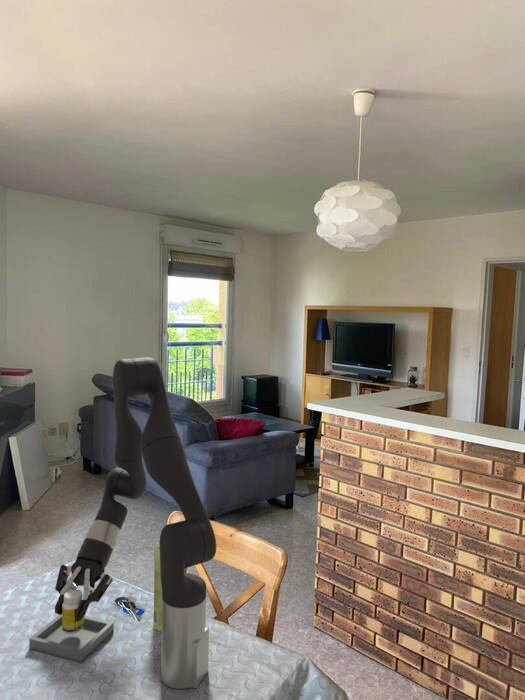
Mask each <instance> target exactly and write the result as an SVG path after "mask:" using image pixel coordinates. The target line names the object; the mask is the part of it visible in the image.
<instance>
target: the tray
mask: <svg viewBox="0 0 525 700" xmlns="http://www.w3.org/2000/svg"><path fill="white" fill-rule="evenodd" d="M114 624H115V623H114V622H113V621H108V620H104V619H101V618H95V617H93V616H88V615H85V616H84V625H83V628H82V630H81V631H79V632H77V633H74V634H66V633H64V632H63V631H62V614H61V615H59V614H58V615H57V616H56V617H55V618H54V619H52V620H51V621H50V622H49V623H48V624H45V626H43V627H42V628H41V629H39V631H37V632H36V633H35V634H34V635H32V636H31V637H30V638H29V639H28V640H29V646H28V647H29V650H30V651H33V652H38V653H42V654H45V655H48V656H52V657H56V658H60V659H63V660H67V661H71V662H74V663H77V664H83V663H84V662H85V661H86V660H88V659H89V658H90V657H91V656H92V655H93V654H94V652H95V651H96V650H98V648H100V647H101V646H102V644H104V643H105V642H106V641H107V640H108V638H110V637H111V636H112V635H113V634H114V631H115V627H114Z"/></svg>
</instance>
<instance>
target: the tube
mask: <svg viewBox="0 0 525 700" xmlns="http://www.w3.org/2000/svg"><path fill="white" fill-rule="evenodd" d="M153 565H154V566H153V568H154V569H153V571H154V572H153V573H154V574H153V578H154V579H153V624H152V625H153V628H154V629H155V630H157V631H158V632H162V586H161V575H160V546H159V545H153Z"/></svg>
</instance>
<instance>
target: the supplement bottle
mask: <svg viewBox="0 0 525 700" xmlns="http://www.w3.org/2000/svg"><path fill="white" fill-rule="evenodd" d="M81 600H83V591H82V590H80V589H76V590H70V591H67V592H66V593H65V594H64V602H63V604H62V631H63V632H64V633H66V634H74V633H77V632H79V631H81V630H82V628H83V625H84V617H82V619H81V620H78V619H76V618H75V617H74V616H75V613H76V611H77V609H78V606H79V604H80V602H81Z"/></svg>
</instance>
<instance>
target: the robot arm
mask: <svg viewBox="0 0 525 700" xmlns="http://www.w3.org/2000/svg"><path fill="white" fill-rule="evenodd" d="M112 370H113V373H112V391H113V393H112V395H113V404H114V405H113V408H114V420H115V421H114V422H115V445H114V446H115V447H114V459H113V461H114V464H115V465H116V466H117V467H114V468H112V469H111V470H110V471H109V472H108V473H107V475H106V478H105V482H104V483H105V484H104V490H103V497H102V499H101V500H102V501H101V504H100V507H99V509H98V512H97V514H96V515H95V518H94V521H93V522H92V523H91V526H90V527H89V528H88V531H87V533H86V535H85V538H84V540H83V542H82V544H81V546H80V548H79V551H78V553H77V556H76V559H75V561H74V563H73V564H72V565H65V564H61V565H60V567H59V571H58V575H57V579H56V583H55V587H54V589H55V590H56V592H58V593H59V597H58V599H57V601H56V603H55V606H54V613H55V614H57V615H58V616H59V615H61V614H62V604H63V602H64V594H65V593H66V592H67V591H70V590H78V588H79V587H81V586H82V587H83V593H82V599H83V600H81V602H80V604H79V606H78V609H77V611H76V613H75V616H74V617H75V618H76V619H78V620H81V619H82V617H84V616H86V613H87V611H88V609H89V607H90V604H91V603H94V602H96V603H99V602H100V600H101V599H102V598H103V596H104V595H105V593H106V591H107V589H109V587H110V585H111V584H112V582H113V581H114V580H113V577H112V576H110V575H109V574H108V573H105V569H106V567H107V566H108V563H109V561H110V559H111V557H112V553H113V552H114V550H115V547H116V544H117V542H118V539H119V535H120V532H121V529H122V527H123V525H124V523H125V521H126V518H127V515H128V507H126V506H125V505H124V504H122V503H121V502H119V501H117V500H116V499H115V497H116V496H118V497H122V498H125V499H129V500H130V499H131V500H137V499H139V498H141V497H142V496H143V495H144V494H145V491H146V490H147V489H146V487H147V478H146V477H147V475H146V472H145V469H146V471H147V473H148V475H149V477H150V478H151V479H152V480H153V481H154V482H155V483H156V484H157V485H158V486H159V487H160V488H162V490H164V492H166V493H167V494H168V495H169V496H170V497H171V498H172V499H173V500H174V502H175V503H176V504H177V505H178V507H179V509H180V511H181V513H182V515H183V518H184V520H181V521H176V522H173V523H168V524H166V525H164V526H163V528H162V529H161V532H160V534H159V535H160V536H159V547H160V575H161V586H162V631H161V640H160V641H161V643H160V647H161V649H160V678H161V681H162V683H163V684H164V685H166V686H167V687H169V688H171V689H177V690H178V689H179V690H182V689H183V690H185V689H190V688H193V689H197V688H198V687H199V685H200V683H201V682H202V680H203V679H204V678H205V676H206V674H207V673H208V671H209V651H210V650H209V649H210V645H209V643H210V642H209V641H210V629H209V627H206V626H207V625H206V622H207V621H206V620H207V619H206V618H207V615H206V614H207V583H206V581H205V579H204V578H202V577H201V576H199V575H197V574H193V573H187V572H185V569H186V568H190V567H194V566H197V565H200V564H203V563H207V562H209V561H212V560H213V559H214V558H215V556H216V552H217V539H216V536H215V531H214V529H213V525H212V523H211V520H210V517H209V516H208V513H207V510H206V509H205V506H204V504H203V501H202V499H201V496H200V494H199V491H198V489H197V487H196V484H195V481H194V478H193V476H192V473H191V469H190V466H189V464H188V460H187V456H186V453H185V449H184V447H183V443H182V440H181V437H180V434H179V432H178V430H177V426H176V423H175V420H174V416H173V414H172V411H171V407H170V403H169V399H168V396H167V391H166V386H165V381H164V377H163V373H162V371H161V368H160V365H159V363H158V361H157V359H155V358H153V357H147V356H146V357H145V356H144V357H135V358H134V357H133V358H122V359H118V360H117V361H116V362H115V364H114V365H113V369H112ZM144 395H147V396H148V398H149V402H150V411H149V415H148V419H147V421H146V424H145V426H144V428H143V430H142V427H141V426H140V424H139V422H138V421H137V419H135V417H134V415H133V413H132V412H131V409H130V406H129V397H136V396H144ZM144 466H145V469H144ZM69 576H70V577H69ZM98 581H99V582H98ZM97 582H98V585H96V583H97Z"/></svg>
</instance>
